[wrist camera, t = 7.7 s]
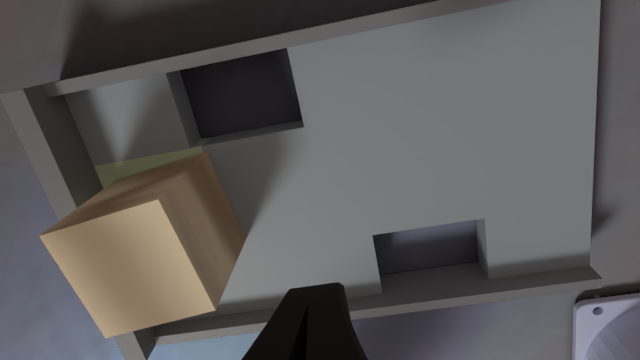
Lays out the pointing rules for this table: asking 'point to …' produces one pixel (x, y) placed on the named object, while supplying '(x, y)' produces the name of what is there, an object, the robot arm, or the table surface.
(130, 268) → the block
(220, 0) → the table surface
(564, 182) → the board
